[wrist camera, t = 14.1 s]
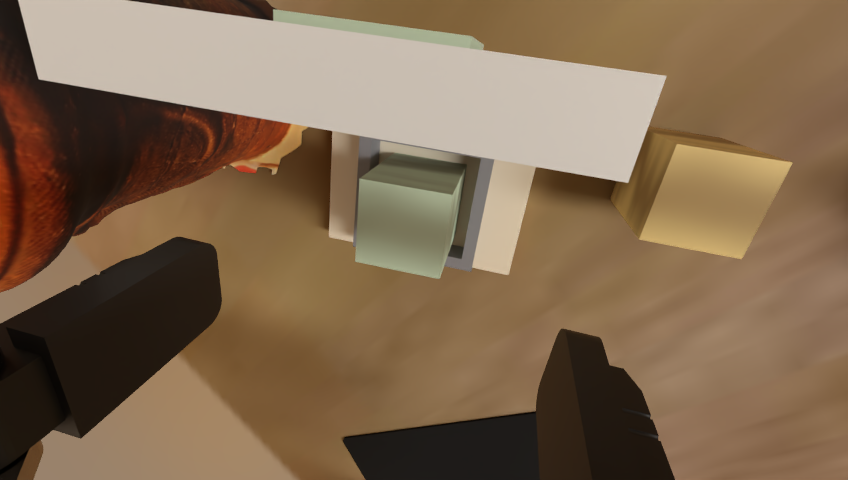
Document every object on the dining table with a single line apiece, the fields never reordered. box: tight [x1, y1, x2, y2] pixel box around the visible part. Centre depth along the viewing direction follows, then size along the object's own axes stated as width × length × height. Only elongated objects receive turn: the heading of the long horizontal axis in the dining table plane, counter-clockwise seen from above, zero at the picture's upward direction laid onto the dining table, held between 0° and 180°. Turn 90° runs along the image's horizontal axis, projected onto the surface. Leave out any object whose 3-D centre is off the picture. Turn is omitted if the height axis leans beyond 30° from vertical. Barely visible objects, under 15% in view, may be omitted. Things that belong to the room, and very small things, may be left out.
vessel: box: [0, 0, 308, 292], centre depth 21 cm, size 14×14×20 cm
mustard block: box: [610, 127, 792, 259], centre depth 23 cm, size 5×5×7 cm
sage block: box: [355, 153, 467, 279], centre depth 25 cm, size 5×5×7 cm
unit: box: [18, 0, 666, 275], centre depth 20 cm, size 14×14×20 cm
